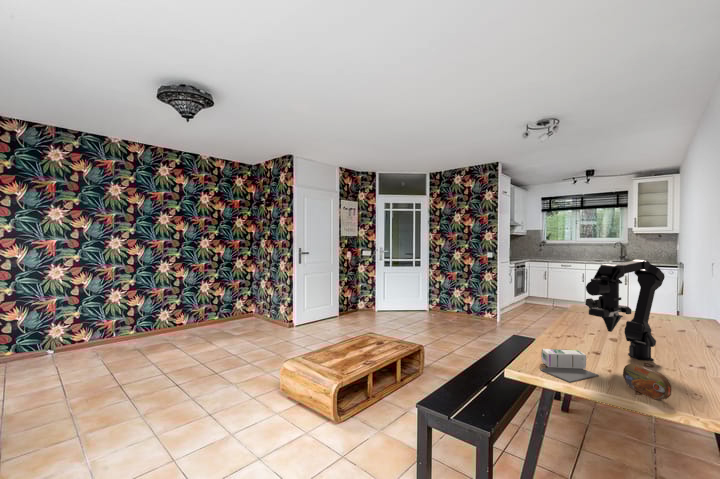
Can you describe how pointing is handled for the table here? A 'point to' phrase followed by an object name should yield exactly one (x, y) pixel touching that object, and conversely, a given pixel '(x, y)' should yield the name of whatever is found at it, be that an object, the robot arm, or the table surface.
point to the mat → (569, 373)
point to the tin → (647, 381)
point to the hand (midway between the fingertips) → (609, 331)
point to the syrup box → (563, 358)
